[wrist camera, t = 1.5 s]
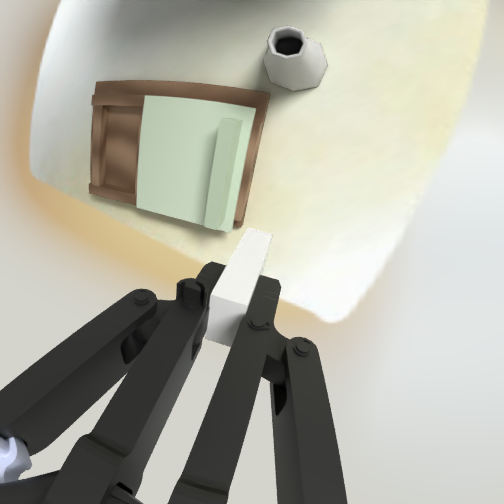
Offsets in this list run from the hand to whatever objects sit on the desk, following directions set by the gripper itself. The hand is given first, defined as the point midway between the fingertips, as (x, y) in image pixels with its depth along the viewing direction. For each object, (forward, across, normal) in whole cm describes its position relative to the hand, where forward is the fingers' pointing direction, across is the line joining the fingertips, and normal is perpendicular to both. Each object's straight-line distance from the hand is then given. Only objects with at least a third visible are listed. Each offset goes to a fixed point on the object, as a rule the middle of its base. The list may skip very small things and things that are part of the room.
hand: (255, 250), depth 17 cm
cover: (+16, -12, 0) cm, 19 cm away
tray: (+18, -16, +1) cm, 25 cm away
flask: (+18, -2, +14) cm, 23 cm away
